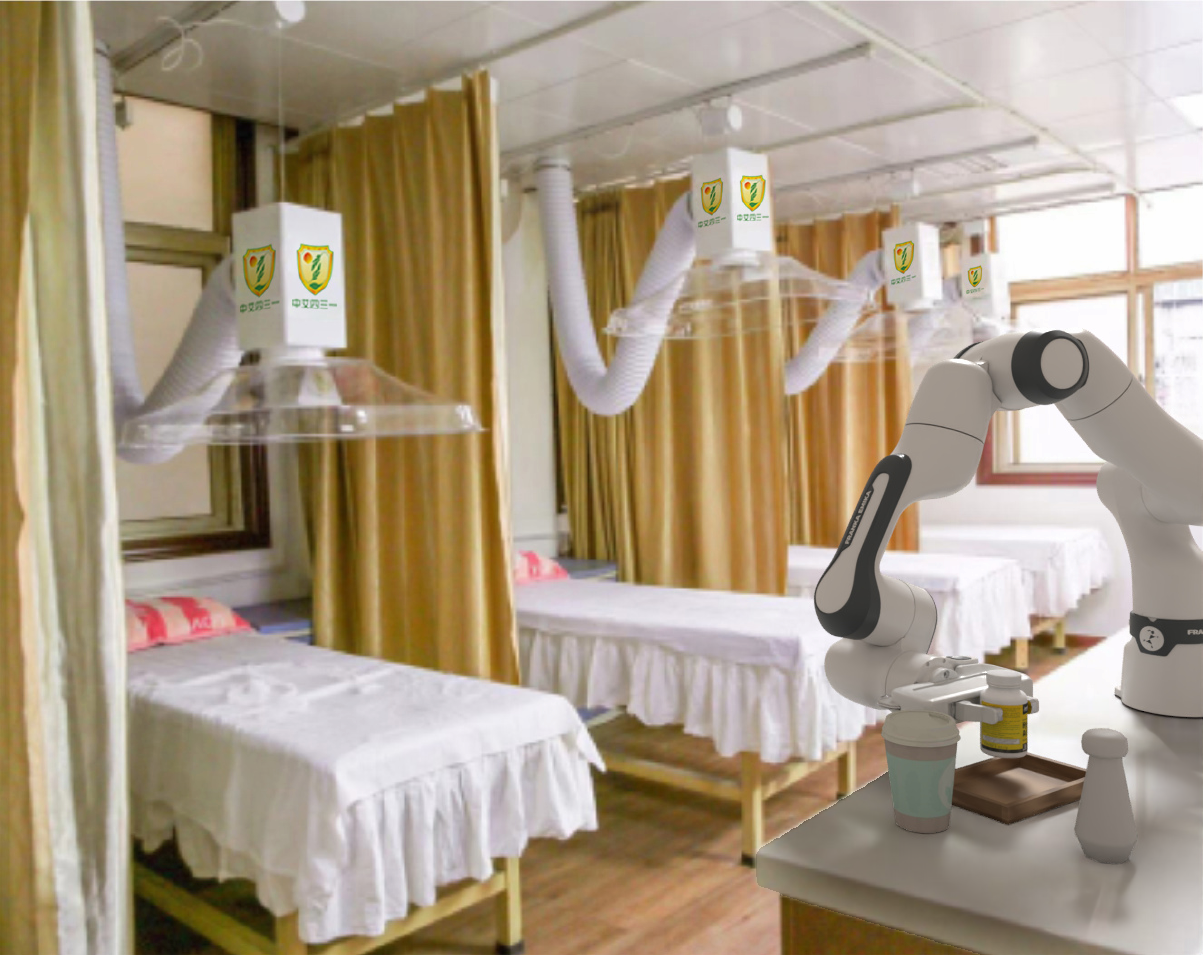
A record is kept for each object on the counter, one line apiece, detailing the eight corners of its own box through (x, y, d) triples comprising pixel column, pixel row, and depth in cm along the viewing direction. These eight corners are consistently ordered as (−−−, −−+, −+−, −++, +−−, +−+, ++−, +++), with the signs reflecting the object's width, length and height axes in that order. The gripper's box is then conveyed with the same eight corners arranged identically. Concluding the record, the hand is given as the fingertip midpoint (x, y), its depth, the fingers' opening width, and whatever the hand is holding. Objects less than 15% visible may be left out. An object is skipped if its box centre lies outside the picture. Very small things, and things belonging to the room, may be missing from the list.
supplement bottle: (1032, 760, 124) (1031, 678, 124) (983, 758, 125) (982, 677, 125) (1023, 747, 129) (1022, 668, 129) (977, 745, 131) (976, 667, 130)
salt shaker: (1111, 872, 104) (1110, 743, 104) (1062, 852, 109) (1060, 729, 109) (1149, 859, 107) (1148, 733, 106) (1100, 840, 112) (1098, 720, 111)
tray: (1018, 764, 137) (1018, 749, 136) (1104, 790, 126) (1104, 774, 126) (923, 794, 127) (923, 778, 127) (1008, 825, 117) (1007, 807, 117)
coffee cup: (951, 844, 112) (949, 733, 112) (873, 830, 117) (870, 724, 116) (970, 817, 120) (968, 713, 119) (895, 805, 124) (893, 705, 124)
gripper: (868, 676, 132) (958, 700, 120) (977, 653, 142) (1069, 673, 131) (869, 726, 132) (959, 754, 120) (977, 699, 143) (1069, 723, 131)
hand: (1017, 711), depth 125 cm, fingers closed on supplement bottle, 5 cm apart
